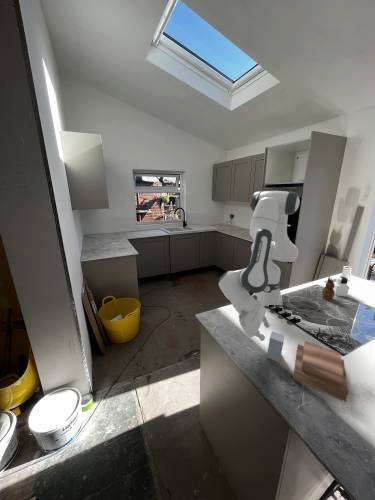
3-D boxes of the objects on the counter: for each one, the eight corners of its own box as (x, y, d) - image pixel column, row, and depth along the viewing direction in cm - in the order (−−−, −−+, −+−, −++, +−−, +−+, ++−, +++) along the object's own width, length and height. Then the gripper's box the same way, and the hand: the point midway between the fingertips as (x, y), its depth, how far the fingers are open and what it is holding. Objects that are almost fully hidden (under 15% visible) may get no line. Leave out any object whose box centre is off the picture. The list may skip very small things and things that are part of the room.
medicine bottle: (341, 291, 143) (345, 275, 139) (346, 296, 136) (351, 280, 133) (330, 290, 144) (334, 274, 141) (334, 295, 138) (338, 279, 134)
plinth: (296, 351, 90) (299, 336, 87) (341, 367, 82) (346, 351, 79) (292, 379, 77) (296, 362, 74) (345, 401, 69) (351, 383, 66)
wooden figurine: (319, 295, 137) (324, 274, 133) (328, 295, 137) (333, 275, 132) (325, 300, 131) (330, 279, 126) (334, 301, 130) (340, 279, 126)
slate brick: (269, 349, 90) (272, 330, 87) (281, 354, 88) (284, 335, 85) (266, 357, 86) (269, 337, 83) (279, 362, 84) (283, 342, 81)
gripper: (243, 314, 78) (267, 345, 76) (256, 292, 95) (276, 317, 93) (231, 320, 82) (253, 350, 80) (246, 298, 98) (265, 322, 96)
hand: (266, 332), depth 86 cm, fingers open, 8 cm apart
